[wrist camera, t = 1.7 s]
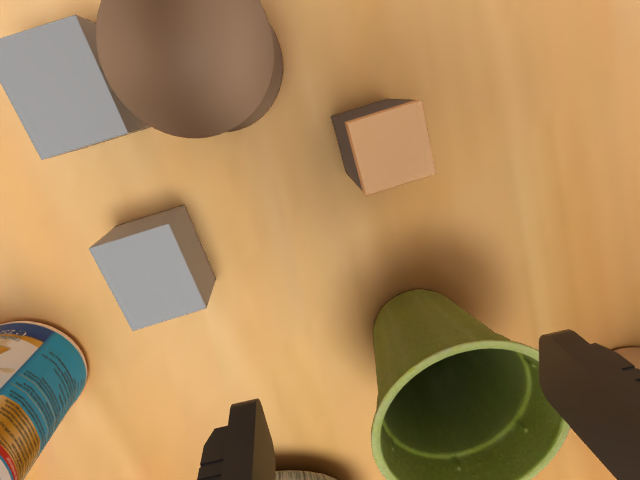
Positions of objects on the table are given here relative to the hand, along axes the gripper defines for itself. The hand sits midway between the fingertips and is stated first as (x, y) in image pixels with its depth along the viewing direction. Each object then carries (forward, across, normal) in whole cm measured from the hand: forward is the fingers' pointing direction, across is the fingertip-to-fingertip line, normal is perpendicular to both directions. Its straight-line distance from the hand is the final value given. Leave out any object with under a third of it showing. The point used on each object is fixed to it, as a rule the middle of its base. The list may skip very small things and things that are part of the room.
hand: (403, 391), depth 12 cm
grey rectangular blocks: (+20, +12, -5) cm, 24 cm away
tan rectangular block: (+20, -4, -4) cm, 21 cm away
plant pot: (+20, -5, +12) cm, 24 cm away
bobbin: (+20, +5, -11) cm, 23 cm away
